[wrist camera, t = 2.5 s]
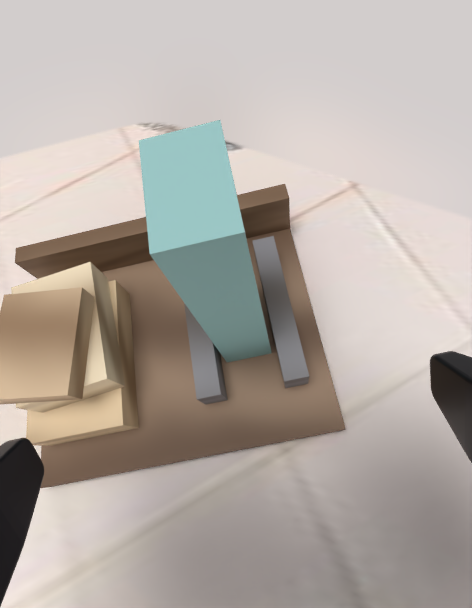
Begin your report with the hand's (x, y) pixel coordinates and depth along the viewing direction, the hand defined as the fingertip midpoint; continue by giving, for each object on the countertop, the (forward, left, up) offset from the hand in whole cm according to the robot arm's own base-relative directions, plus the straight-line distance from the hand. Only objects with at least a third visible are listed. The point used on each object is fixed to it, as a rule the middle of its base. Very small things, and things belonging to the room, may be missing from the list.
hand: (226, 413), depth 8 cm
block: (+5, -3, -12) cm, 13 cm away
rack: (+7, 0, -12) cm, 14 cm away
